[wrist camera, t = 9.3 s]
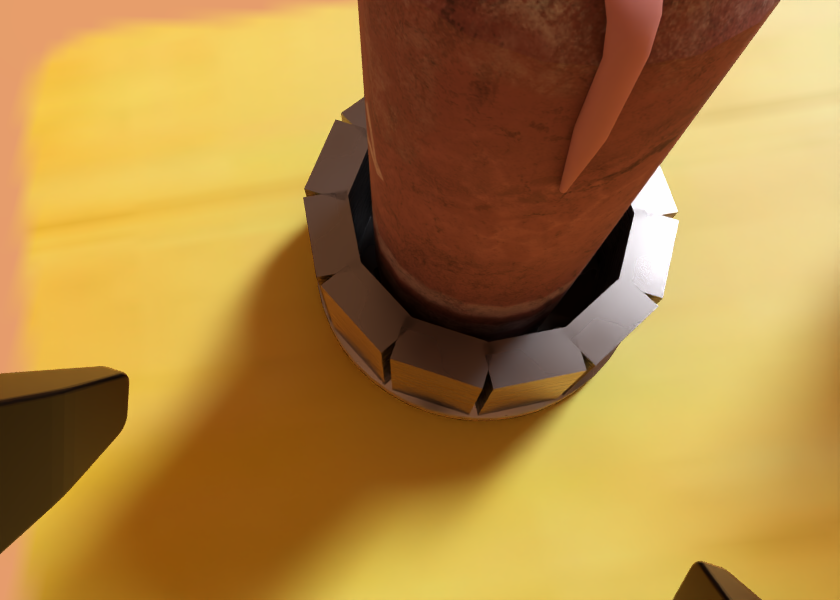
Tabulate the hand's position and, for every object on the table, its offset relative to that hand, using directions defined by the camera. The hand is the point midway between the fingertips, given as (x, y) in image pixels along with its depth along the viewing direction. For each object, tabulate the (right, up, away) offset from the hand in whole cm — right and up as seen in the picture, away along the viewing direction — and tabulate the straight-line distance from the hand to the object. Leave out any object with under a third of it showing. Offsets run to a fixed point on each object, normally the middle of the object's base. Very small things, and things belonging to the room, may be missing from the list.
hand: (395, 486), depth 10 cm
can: (+2, +4, +11) cm, 12 cm away
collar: (+2, +4, +12) cm, 13 cm away
